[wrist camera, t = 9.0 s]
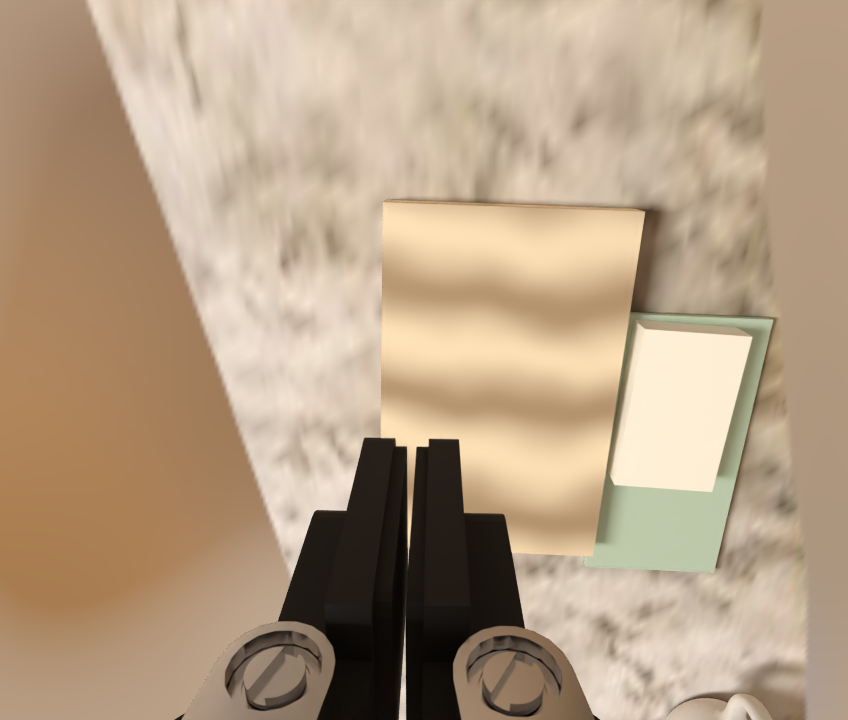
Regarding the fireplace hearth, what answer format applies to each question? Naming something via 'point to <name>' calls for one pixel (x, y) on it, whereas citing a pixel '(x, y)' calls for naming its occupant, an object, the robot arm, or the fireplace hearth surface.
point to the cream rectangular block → (676, 404)
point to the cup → (721, 709)
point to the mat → (669, 508)
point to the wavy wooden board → (510, 354)
